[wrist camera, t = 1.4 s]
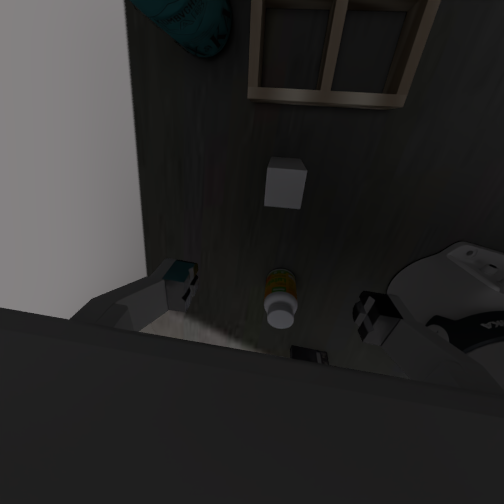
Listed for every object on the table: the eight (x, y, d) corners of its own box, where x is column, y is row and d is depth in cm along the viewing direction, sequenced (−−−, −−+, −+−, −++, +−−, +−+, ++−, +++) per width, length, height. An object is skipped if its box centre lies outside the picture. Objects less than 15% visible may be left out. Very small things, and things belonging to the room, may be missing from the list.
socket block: (438, -54, 18) (477, -99, 15) (386, 109, 25) (404, 106, 21) (259, -55, 20) (254, -96, 16) (252, 102, 26) (247, 98, 22)
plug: (300, 158, 29) (307, 170, 21) (295, 188, 31) (300, 209, 23) (271, 156, 29) (267, 167, 21) (268, 186, 31) (264, 205, 23)
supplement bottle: (286, 263, 37) (288, 302, 29) (300, 284, 39) (305, 326, 31) (261, 274, 39) (255, 313, 31) (275, 293, 41) (273, 335, 33)
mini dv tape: (326, 351, 49) (331, 378, 44) (324, 355, 50) (329, 382, 44) (291, 345, 49) (292, 370, 44) (290, 348, 50) (291, 374, 45)
